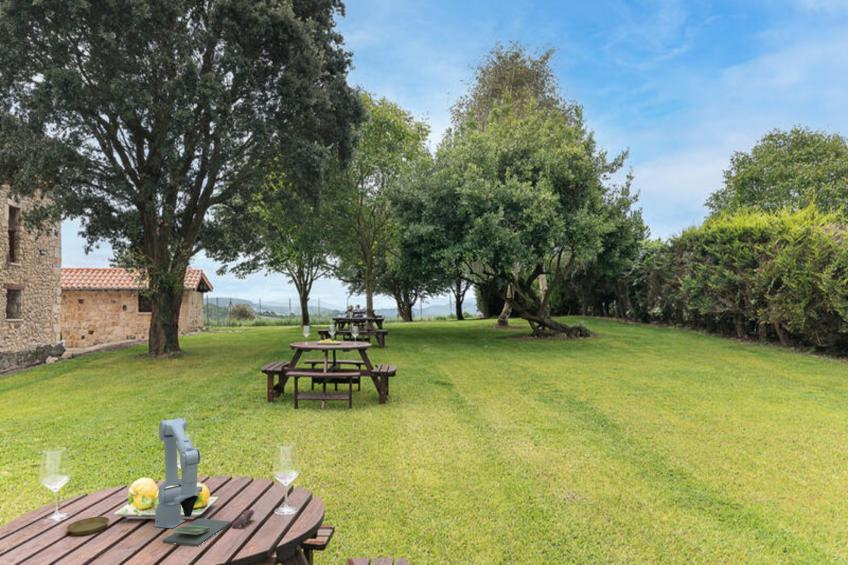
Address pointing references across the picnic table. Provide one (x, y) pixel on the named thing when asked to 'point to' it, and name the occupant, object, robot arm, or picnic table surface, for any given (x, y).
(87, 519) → the plant saucer
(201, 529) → the tile
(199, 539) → the board
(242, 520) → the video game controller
